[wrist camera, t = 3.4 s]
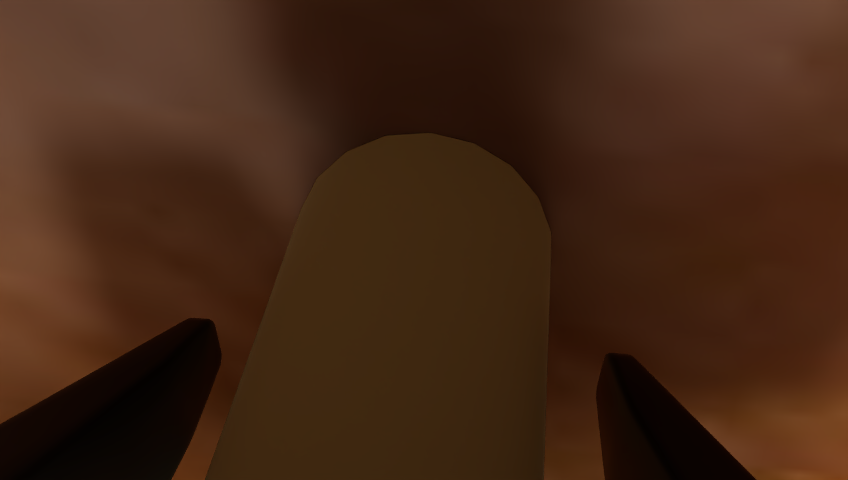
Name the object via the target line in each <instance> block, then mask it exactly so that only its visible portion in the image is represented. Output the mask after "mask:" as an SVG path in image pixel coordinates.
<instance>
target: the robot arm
mask: <svg viewBox="0 0 848 480" xmlns="http://www.w3.org/2000/svg"><path fill="white" fill-rule="evenodd" d="M221 359H222V353H221V348H220V344H219V340H218V336H217V332H216V327H215V324H214V323H213V321H212V320H209V319H201V318H189V319H187V320H185V321H183V322H181V323H179V324H177V325H176V326H174V327H172V328H170V329H169V330H167V331H165V332H163V333H162V334H160V335H158V336H156V337H154V338H153V339H151V340H149V341H147V342H146V343H144V344H142V345H140V346H138V347H137V348H135V349H133V350H131V351H130V352H128V353H126V354H124V355H122V356H121V357H119V358H117V359H115V360H114V361H112V362H110V363H108V364H106V365H105V366H103V367H101V368H99V369H98V370H96V371H94V372H92V373H90V374H89V375H87V376H85V377H83V378H82V379H80V380H78V381H76V382H74V383H73V384H71V385H69V386H67V387H66V388H64V389H62V390H60V391H58V392H57V393H55V394H53V395H51V396H50V397H48V398H46V399H44V400H42V401H41V402H39V403H37V404H35V405H34V406H32V407H30V408H28V409H26V410H25V411H23V412H21V413H19V414H18V415H16V416H14V417H12V418H10V419H9V420H7V421H5V422H3V423H2V424H0V480H171V479H172V477H173V475H174V473H175V471H176V469H177V467H178V465H179V463H180V462H181V460H182V458H183V456H184V454H185V452H186V450H187V448H188V446H189V444H190V441H191V439H192V437H193V434H194V432H195V430H196V427H197V425H198V422H199V420H200V417H201V414H202V412H203V409H204V407H205V404H206V401H207V399H208V396H209V394H210V391H211V388H212V386H213V383H214V381H215V378H216V375H217V373H218V370H219V368H220V365H221ZM596 401H597V411H598V420H599V429H600V438H601V448H602V457H603V466H604V475H605V480H756V479H755V478H754V477H753V476H752V475H751V474H750V473H749V472H748V471H747V470H746V469H745V468H744V467H743V466H742V465H741V464H740V463H739V462H738V461H737V460H736V459H735V458H734V457H733V456H732V455H731V454H730V453H729V452H728V451H727V450H726V449H725V448H724V447H723V446H722V445H721V444H720V443H719V442H718V441H717V440H716V439H715V438H714V437H713V436H712V435H711V434H710V433H709V432H708V431H707V430H706V429H705V428H704V427H703V426H702V425H701V424H700V423H699V422H698V421H697V420H696V419H695V418H694V417H693V416H692V415H691V414H690V413H689V412H688V411H687V410H686V409H685V408H684V407H683V406H682V405H681V404H680V403H679V402H678V401H677V400H676V399H675V398H674V397H673V396H672V395H671V394H670V393H669V392H668V391H667V390H666V389H665V388H664V387H663V386H662V385H661V384H660V383H659V382H658V381H657V380H656V379H655V378H654V377H653V376H652V375H651V374H650V373H649V372H648V371H647V370H646V369H645V368H644V367H643V366H642V365H641V364H640V363H639V362H638V361H637V360H636V359H635V358H634V357H633V356H631V355H629V354H619V353H608V354H607V355H606V356H605V358H604V361H603V365H602V369H601V373H600V377H599V381H598V385H597V391H596Z"/></svg>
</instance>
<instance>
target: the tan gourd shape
mask: <svg viewBox="0 0 848 480" xmlns="http://www.w3.org/2000/svg"><path fill="white" fill-rule="evenodd" d="M550 274H551V231H550V228H549V225H548V222H547V220H546V217H545V214H544V212H543V209H542V206H541V203H540V201H539V198H538V196H537V195H536V194H535V193H534V192H533V191H532V189H531V188H530V187H529V186H528V185H527V183H526V182H525V181H524V180H523V179H522V178H521V176H520V175H519V174H518V173H517V172H516V170H515V169H514V168H513V167H512V166H511V165H509V164H508V163H506V162H504V161H503V160H501V159H499V158H498V157H496V156H494V155H493V154H491V153H489V152H488V151H486V150H484V149H483V148H481V147H479V146H478V145H476V144H474V143H471V142H467V141H462V140H458V139H454V138H450V137H446V136H442V135H438V134H433V133H418V134H404V135H389V136H384V137H381V138H379V139H376V140H374V141H371V142H369V143H366V144H364V145H361V146H359V147H357V148H354V149H352V150H349V151H347V152H345V153H344V154H343V155H342V156H341V157H340V158H339V159H338V160H336V161H335V162H334V163H333V164H332V165H331V166H330V167H329V168H328V169H326V170H325V171H324V172H323V173H322V174H321V175H320V176H319V177H317V179H316V181H315V183H314V185H313V187H312V189H311V191H310V193H309V195H308V197H307V199H306V201H305V203H304V204H303V206H302V208H301V211H300V213H299V216H298V219H297V222H296V225H295V228H294V230H293V233H292V236H291V239H290V242H289V244H288V247H287V250H286V253H285V256H284V259H283V261H282V264H281V267H280V270H279V273H278V275H277V278H276V281H275V284H274V287H273V289H272V292H271V295H270V298H269V301H268V304H267V306H266V309H265V312H264V315H263V318H262V320H261V323H260V326H259V329H258V332H257V335H256V337H255V340H254V343H253V346H252V349H251V351H250V354H249V357H248V360H247V363H246V366H245V368H244V371H243V374H242V377H241V380H240V382H239V385H238V388H237V391H236V394H235V397H234V399H233V402H232V405H231V408H230V411H229V413H228V416H227V419H226V422H225V425H224V427H223V430H222V433H221V436H220V439H219V442H218V444H217V447H216V450H215V453H214V456H213V458H212V461H211V464H210V467H209V470H208V473H207V475H206V478H205V480H544V452H545V422H546V393H547V363H548V333H549V303H550Z"/></svg>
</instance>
